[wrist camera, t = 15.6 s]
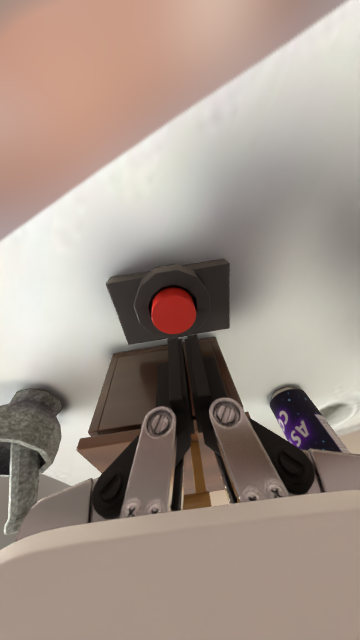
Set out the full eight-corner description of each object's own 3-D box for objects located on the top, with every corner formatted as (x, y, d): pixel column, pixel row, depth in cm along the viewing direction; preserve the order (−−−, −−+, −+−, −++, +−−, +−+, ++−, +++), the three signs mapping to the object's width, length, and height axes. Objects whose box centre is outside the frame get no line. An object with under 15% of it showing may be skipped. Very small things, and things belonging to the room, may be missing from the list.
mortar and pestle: (-19, 399, 25) (-142, 532, 15) (27, 369, 23) (-78, 500, 13) (53, 432, 31) (-1, 547, 20) (96, 411, 28) (60, 526, 18)
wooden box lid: (79, 438, 14) (41, 554, 9) (248, 411, 14) (290, 515, 9) (135, 494, 23) (130, 568, 18) (238, 478, 23) (258, 548, 18)
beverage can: (278, 381, 28) (343, 482, 18) (309, 386, 29) (386, 482, 19) (260, 404, 31) (308, 502, 21) (289, 407, 32) (347, 501, 22)
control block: (224, 250, 17) (236, 260, 14) (225, 320, 22) (235, 338, 19) (107, 269, 17) (96, 283, 15) (130, 335, 22) (125, 356, 19)
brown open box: (113, 353, 23) (87, 432, 15) (215, 336, 23) (243, 407, 15) (142, 419, 31) (136, 494, 23) (219, 407, 31) (238, 478, 23)
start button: (190, 283, 16) (193, 292, 14) (195, 319, 18) (198, 330, 16) (148, 290, 16) (146, 300, 14) (156, 326, 18) (156, 337, 16)
